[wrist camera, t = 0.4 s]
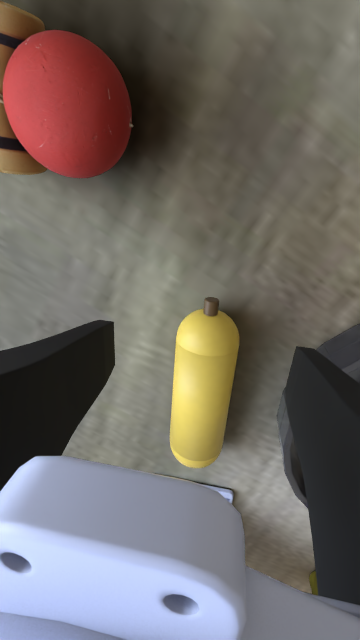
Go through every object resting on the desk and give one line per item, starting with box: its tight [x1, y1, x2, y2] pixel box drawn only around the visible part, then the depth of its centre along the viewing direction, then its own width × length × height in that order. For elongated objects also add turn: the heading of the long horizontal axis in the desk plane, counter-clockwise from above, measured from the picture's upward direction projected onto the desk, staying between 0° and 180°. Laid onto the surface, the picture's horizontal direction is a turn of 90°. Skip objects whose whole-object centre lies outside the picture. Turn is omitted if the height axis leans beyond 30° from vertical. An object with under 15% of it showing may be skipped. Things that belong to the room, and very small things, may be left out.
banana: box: [170, 297, 240, 468], centre depth 22 cm, size 14×4×4 cm, turn 176°
